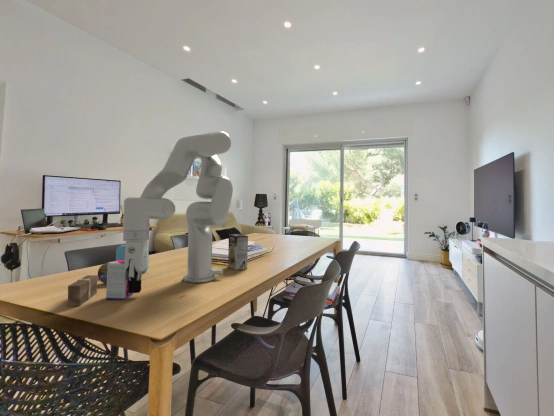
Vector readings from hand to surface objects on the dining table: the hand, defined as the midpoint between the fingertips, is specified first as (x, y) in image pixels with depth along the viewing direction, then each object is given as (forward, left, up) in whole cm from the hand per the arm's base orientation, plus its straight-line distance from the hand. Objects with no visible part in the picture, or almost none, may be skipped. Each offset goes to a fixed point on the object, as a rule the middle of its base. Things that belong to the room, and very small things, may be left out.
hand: (135, 292), depth 88 cm
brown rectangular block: (+15, 0, -2) cm, 15 cm away
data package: (+10, -34, -2) cm, 36 cm away
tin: (+10, -19, -2) cm, 22 cm away
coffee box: (-36, -37, -2) cm, 52 cm away
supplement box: (+4, -1, -2) cm, 5 cm away
